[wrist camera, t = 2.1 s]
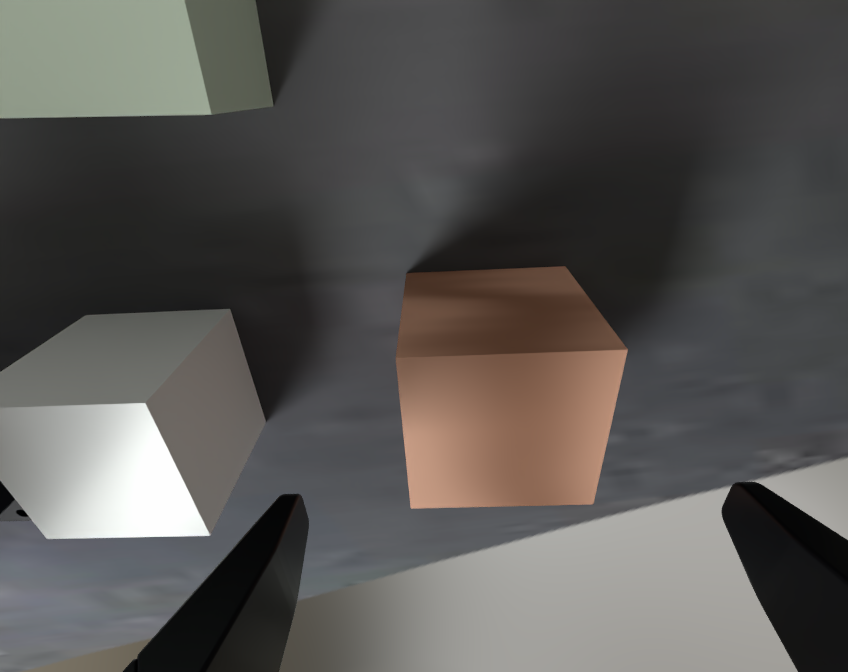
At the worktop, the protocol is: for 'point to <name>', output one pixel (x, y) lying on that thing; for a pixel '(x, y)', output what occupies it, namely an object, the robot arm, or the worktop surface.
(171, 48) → the sage base block
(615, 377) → the terracotta cube
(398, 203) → the worktop surface
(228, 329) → the grey cube
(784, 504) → the robot arm
